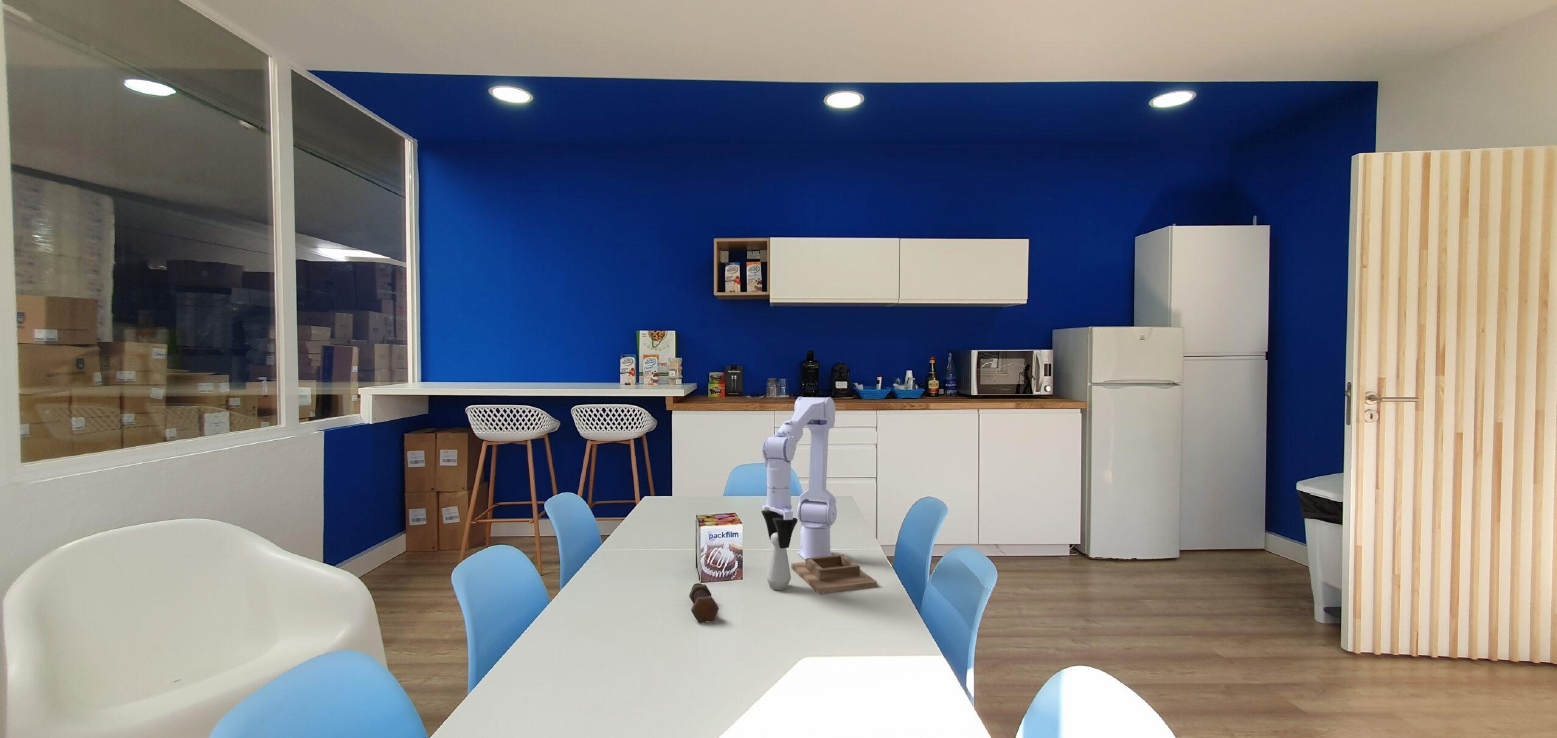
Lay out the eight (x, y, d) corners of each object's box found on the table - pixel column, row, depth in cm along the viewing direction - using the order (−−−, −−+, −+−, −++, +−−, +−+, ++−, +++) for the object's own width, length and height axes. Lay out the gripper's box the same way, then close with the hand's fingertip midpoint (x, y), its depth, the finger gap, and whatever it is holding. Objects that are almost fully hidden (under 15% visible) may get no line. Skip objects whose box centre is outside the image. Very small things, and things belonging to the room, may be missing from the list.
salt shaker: (762, 589, 163) (763, 534, 163) (772, 582, 168) (773, 529, 168) (785, 592, 161) (786, 537, 160) (794, 585, 166) (795, 532, 166)
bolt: (701, 605, 159) (709, 628, 144) (682, 595, 158) (688, 618, 144) (713, 582, 160) (722, 603, 145) (694, 572, 159) (701, 593, 144)
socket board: (791, 567, 179) (791, 553, 179) (844, 562, 184) (844, 548, 183) (818, 593, 160) (818, 578, 160) (876, 586, 164) (876, 571, 164)
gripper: (754, 482, 170) (754, 537, 170) (772, 493, 156) (772, 553, 156) (781, 481, 172) (781, 535, 172) (801, 491, 158) (801, 550, 158)
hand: (779, 543), depth 164 cm, fingers open, 7 cm apart
